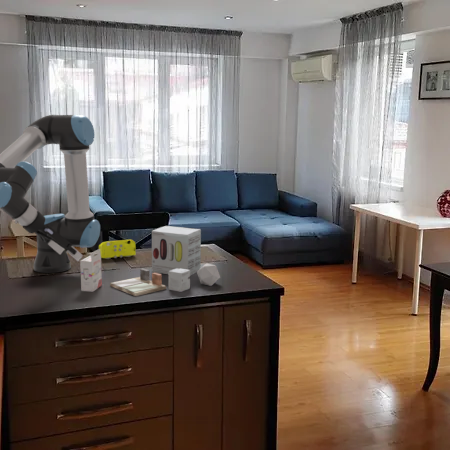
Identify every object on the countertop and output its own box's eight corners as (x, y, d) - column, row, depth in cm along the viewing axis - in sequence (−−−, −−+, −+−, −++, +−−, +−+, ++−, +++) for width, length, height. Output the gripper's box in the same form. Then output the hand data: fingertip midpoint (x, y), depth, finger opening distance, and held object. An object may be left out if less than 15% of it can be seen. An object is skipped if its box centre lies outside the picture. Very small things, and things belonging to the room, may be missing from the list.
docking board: (110, 285, 226) (110, 272, 225) (140, 279, 235) (140, 267, 234) (135, 296, 213) (135, 282, 212) (166, 289, 223) (166, 275, 222)
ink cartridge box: (90, 284, 227) (89, 247, 224) (102, 285, 226) (101, 248, 223) (80, 291, 219) (79, 252, 216) (92, 292, 218) (91, 253, 215)
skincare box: (181, 292, 219) (181, 273, 218) (168, 289, 222) (168, 270, 221) (190, 288, 224) (190, 269, 223) (177, 285, 227) (177, 267, 226)
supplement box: (150, 272, 245) (150, 230, 242) (165, 265, 258) (165, 225, 254) (188, 277, 239) (188, 234, 236) (201, 270, 251) (201, 228, 248)
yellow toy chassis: (102, 260, 266) (101, 242, 265) (98, 257, 271) (98, 239, 269) (135, 256, 273) (135, 239, 272) (131, 254, 278) (131, 237, 277)
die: (224, 285, 231) (218, 263, 235) (217, 279, 223) (212, 257, 227) (204, 291, 232) (199, 269, 236) (197, 286, 225) (192, 263, 228)
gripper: (7, 221, 209) (48, 256, 222) (38, 232, 191) (81, 269, 203) (21, 205, 211) (61, 241, 224) (53, 214, 193) (94, 252, 206)
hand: (71, 254), depth 214 cm, fingers open, 13 cm apart
